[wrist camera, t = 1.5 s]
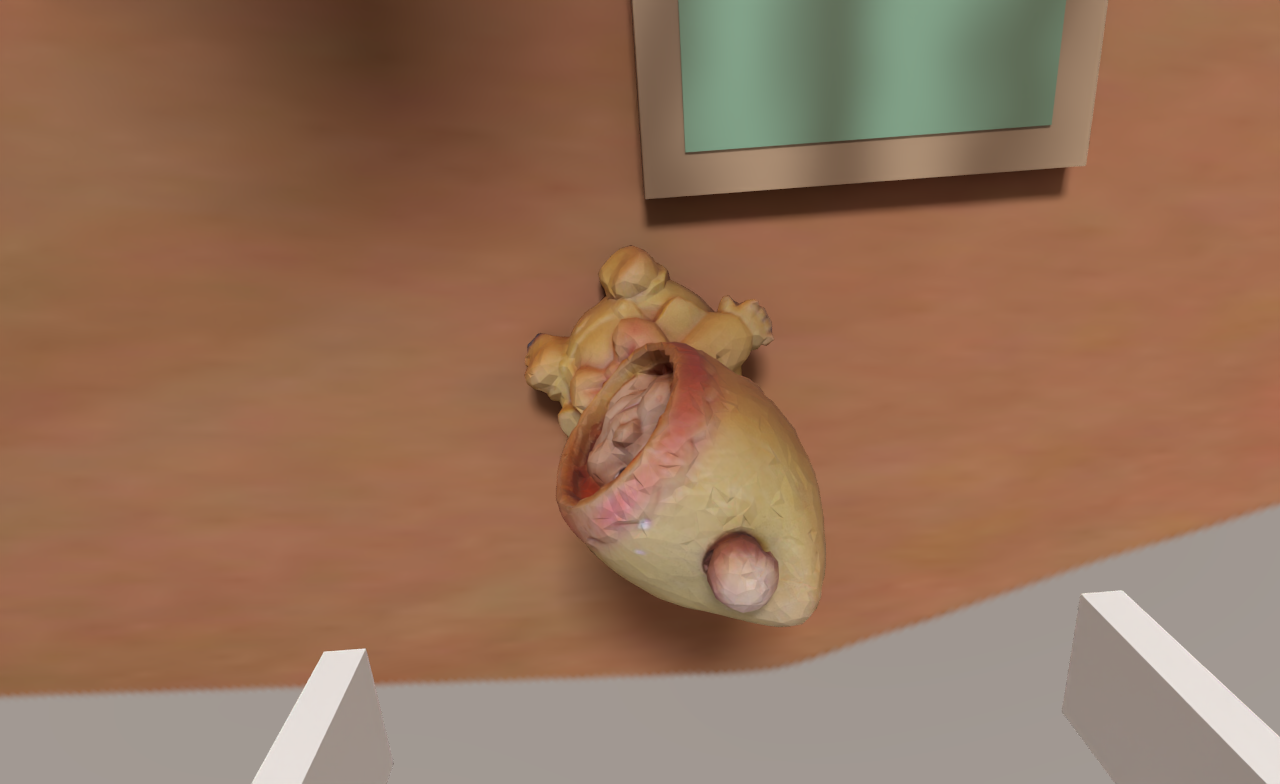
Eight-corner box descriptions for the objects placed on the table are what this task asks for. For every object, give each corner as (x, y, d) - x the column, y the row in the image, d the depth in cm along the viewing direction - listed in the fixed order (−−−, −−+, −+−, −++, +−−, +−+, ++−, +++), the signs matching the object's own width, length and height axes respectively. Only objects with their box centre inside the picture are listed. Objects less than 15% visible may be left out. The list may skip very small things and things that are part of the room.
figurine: (638, 193, 28) (797, 377, 15) (769, 303, 31) (988, 528, 19) (481, 387, 30) (505, 686, 17) (619, 469, 34) (722, 767, 21)
